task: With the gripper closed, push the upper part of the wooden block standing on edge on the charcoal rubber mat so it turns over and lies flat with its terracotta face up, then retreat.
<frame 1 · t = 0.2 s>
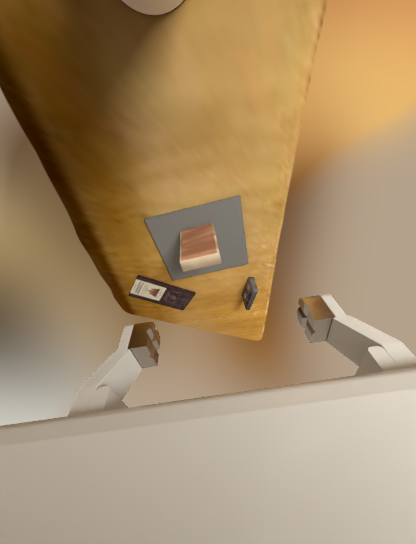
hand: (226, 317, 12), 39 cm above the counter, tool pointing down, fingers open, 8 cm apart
chocolate bar: (162, 291, 67), on the counter
mat: (201, 242, 55), on the counter
mini dv tape: (247, 286, 68), on the counter
wooden block: (198, 231, 52), point 1 cm above the counter, touching mat
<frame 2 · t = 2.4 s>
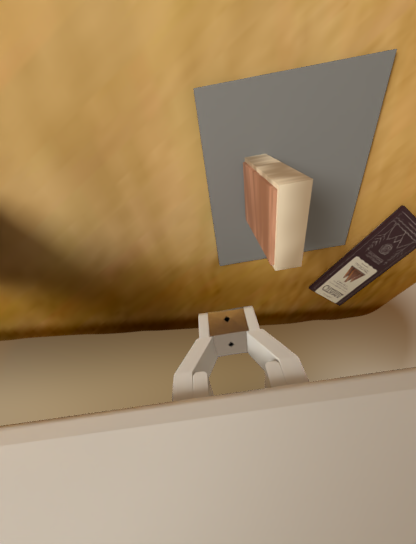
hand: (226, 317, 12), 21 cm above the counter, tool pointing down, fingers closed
chocolate bar: (362, 260, 38), on the counter
mat: (284, 183, 28), on the counter
wooden block: (255, 189, 28), point 1 cm above the counter, touching mat
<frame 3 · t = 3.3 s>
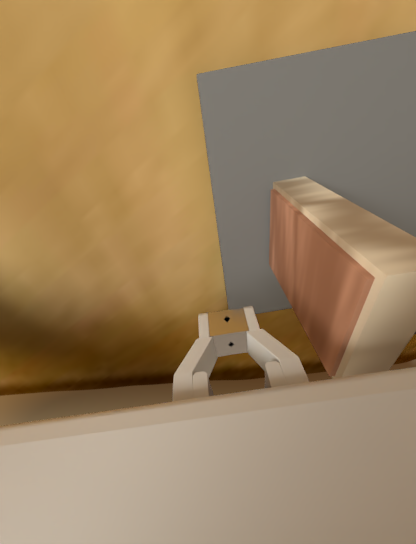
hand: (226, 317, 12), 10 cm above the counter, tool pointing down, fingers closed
mat: (327, 215, 20), on the counter
wooden block: (285, 226, 19), point 1 cm above the counter, touching mat
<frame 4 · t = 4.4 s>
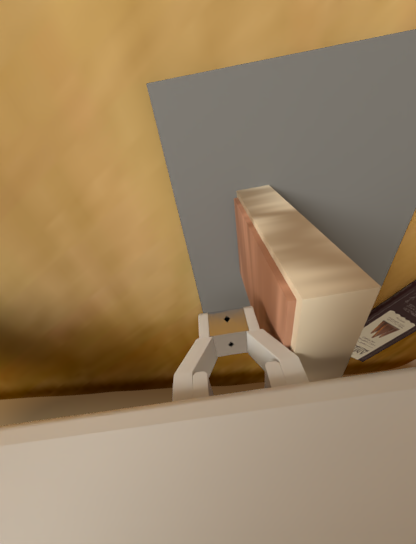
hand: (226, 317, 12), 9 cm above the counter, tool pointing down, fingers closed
chocolate bar: (396, 311, 29), on the counter
mat: (296, 223, 19), on the counter
wooden block: (253, 234, 19), point 1 cm above the counter, touching gripper, mat
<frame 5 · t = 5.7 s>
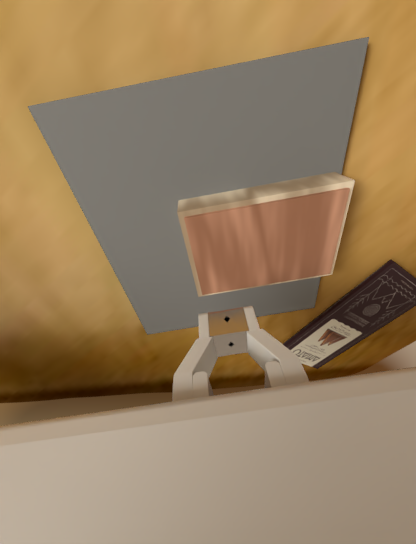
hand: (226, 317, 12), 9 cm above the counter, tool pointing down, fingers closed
chocolate bar: (342, 319, 29), on the counter
mat: (217, 236, 19), on the counter
wooden block: (189, 252, 18), point 2 cm above the counter, tilted 90°, touching mat
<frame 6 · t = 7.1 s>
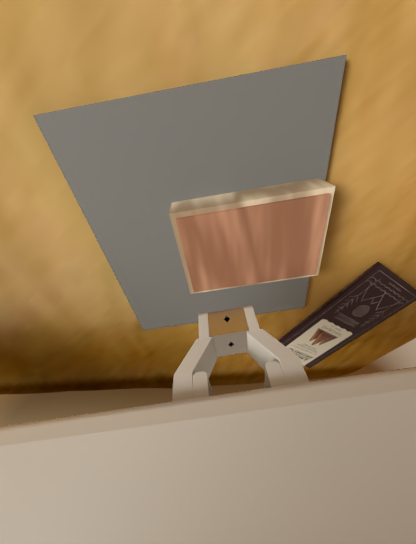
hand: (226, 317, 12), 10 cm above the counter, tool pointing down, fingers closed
chocolate bar: (333, 320, 30), on the counter
mat: (209, 237, 21), on the counter
wooden block: (181, 251, 19), point 2 cm above the counter, tilted 90°, touching mat
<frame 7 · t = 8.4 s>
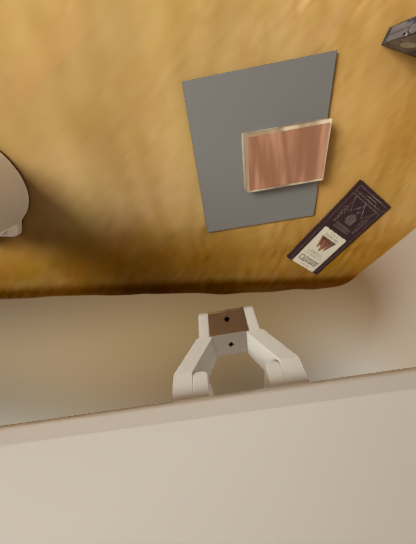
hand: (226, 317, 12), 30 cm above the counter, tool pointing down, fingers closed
chocolate bar: (333, 231, 44), on the counter
mat: (258, 159, 35), on the counter
mini dv tape: (410, 46, 28), on the counter
wooden block: (244, 164, 33), point 2 cm above the counter, tilted 90°, touching mat
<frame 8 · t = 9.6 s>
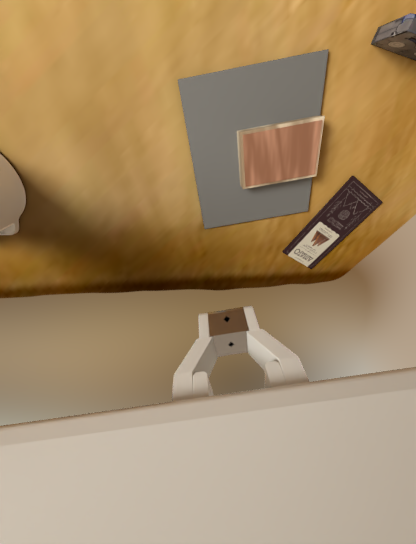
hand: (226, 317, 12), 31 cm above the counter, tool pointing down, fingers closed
chocolate bar: (327, 226, 45), on the counter
mat: (253, 156, 35), on the counter
mini dv tape: (398, 46, 29), on the counter
wooden block: (240, 161, 34), point 2 cm above the counter, tilted 90°, touching mat
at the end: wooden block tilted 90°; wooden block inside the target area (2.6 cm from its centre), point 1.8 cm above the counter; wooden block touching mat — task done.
